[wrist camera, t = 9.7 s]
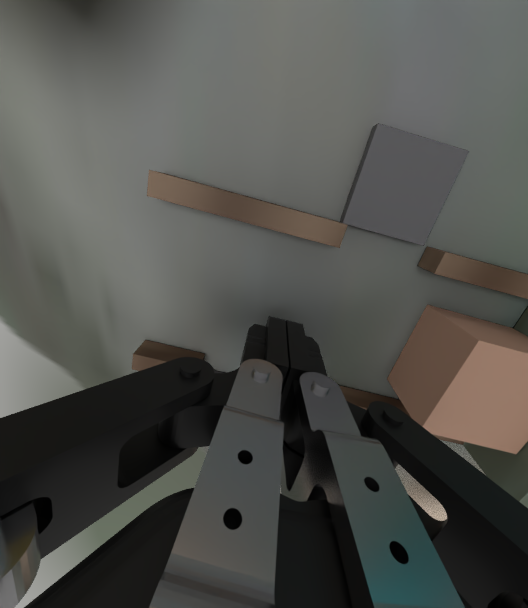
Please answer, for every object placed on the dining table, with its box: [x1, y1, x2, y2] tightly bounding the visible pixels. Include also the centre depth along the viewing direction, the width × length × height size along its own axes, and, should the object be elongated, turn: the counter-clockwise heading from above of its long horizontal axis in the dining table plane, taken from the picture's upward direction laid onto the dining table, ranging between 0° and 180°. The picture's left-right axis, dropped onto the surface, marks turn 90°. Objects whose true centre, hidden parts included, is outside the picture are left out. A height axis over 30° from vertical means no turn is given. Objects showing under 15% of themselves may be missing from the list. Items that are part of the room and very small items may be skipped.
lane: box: [132, 170, 528, 508], centre depth 12 cm, size 22×10×5 cm, turn 75°
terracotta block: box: [387, 305, 528, 454], centre depth 14 cm, size 5×5×4 cm
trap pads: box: [214, 123, 469, 373], centre depth 14 cm, size 5×20×1 cm, turn 146°
